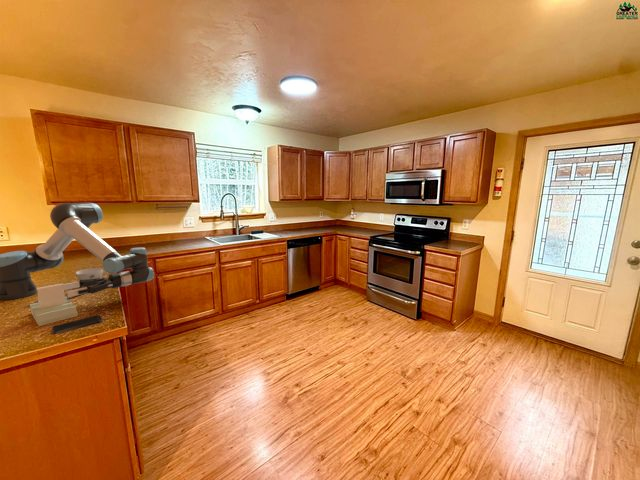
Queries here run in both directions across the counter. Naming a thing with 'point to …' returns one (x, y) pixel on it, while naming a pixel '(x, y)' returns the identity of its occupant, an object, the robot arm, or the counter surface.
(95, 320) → the phone
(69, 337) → the counter surface
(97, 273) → the teacup
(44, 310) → the slotted rack base
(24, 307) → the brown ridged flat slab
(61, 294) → the beige rectangular block
